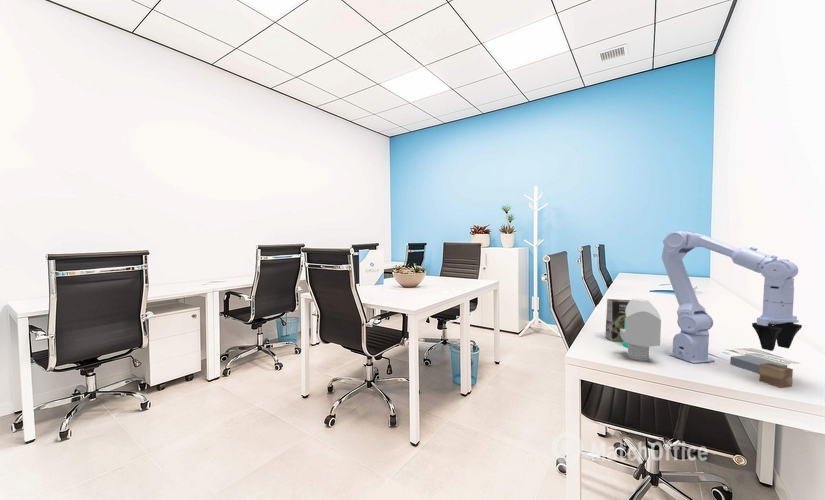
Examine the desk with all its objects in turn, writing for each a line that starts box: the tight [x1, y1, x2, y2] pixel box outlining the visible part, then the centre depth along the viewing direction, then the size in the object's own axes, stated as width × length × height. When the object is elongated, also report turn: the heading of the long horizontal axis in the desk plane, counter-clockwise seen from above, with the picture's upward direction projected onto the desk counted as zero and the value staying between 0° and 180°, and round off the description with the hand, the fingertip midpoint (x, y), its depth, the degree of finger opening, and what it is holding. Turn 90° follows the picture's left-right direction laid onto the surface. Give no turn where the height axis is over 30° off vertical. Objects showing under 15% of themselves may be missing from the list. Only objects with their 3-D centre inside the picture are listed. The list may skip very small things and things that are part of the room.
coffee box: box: [604, 298, 632, 343], centre depth 129 cm, size 9×6×16 cm
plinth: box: [729, 354, 788, 375], centre depth 101 cm, size 9×9×2 cm
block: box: [759, 363, 794, 389], centre depth 90 cm, size 4×4×5 cm
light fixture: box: [620, 298, 662, 362], centre depth 109 cm, size 9×9×20 cm
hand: (775, 348), depth 92 cm, fingers open, 7 cm apart
